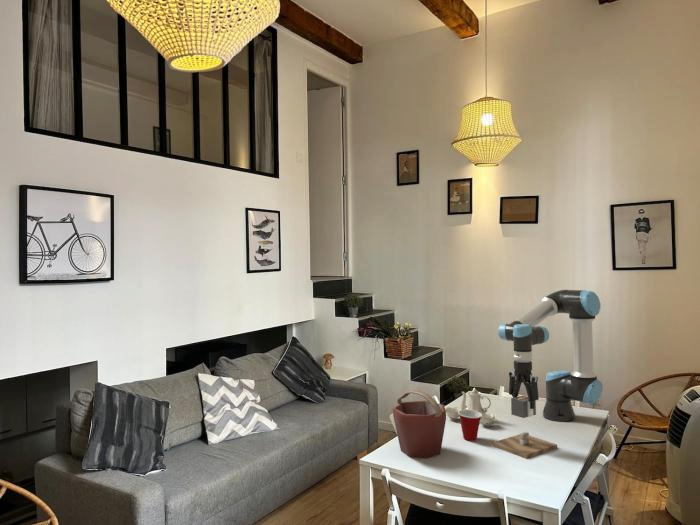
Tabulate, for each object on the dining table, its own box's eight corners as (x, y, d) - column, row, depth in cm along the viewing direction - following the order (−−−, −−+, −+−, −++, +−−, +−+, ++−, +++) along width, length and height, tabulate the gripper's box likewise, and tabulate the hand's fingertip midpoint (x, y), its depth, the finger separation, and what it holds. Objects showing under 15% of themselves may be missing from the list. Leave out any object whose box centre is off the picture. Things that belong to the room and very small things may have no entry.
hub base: (522, 436, 244) (522, 423, 244) (557, 448, 229) (556, 434, 229) (492, 445, 233) (492, 432, 233) (526, 458, 218) (525, 444, 218)
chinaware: (440, 424, 269) (438, 392, 268) (453, 412, 283) (451, 381, 281) (494, 433, 254) (492, 399, 252) (505, 420, 268) (503, 388, 266)
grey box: (523, 418, 226) (523, 400, 226) (511, 414, 231) (511, 397, 231) (535, 414, 230) (535, 397, 230) (523, 411, 236) (523, 394, 235)
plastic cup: (481, 444, 236) (480, 417, 236) (456, 441, 240) (455, 414, 239) (484, 436, 246) (483, 410, 246) (460, 433, 250) (460, 408, 250)
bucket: (386, 445, 237) (385, 389, 237) (430, 438, 245) (429, 383, 245) (412, 465, 214) (410, 403, 214) (459, 456, 222) (458, 396, 222)
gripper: (499, 358, 236) (500, 410, 237) (535, 365, 220) (536, 421, 221) (510, 356, 241) (511, 407, 241) (547, 363, 224) (548, 417, 225)
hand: (523, 413), depth 231 cm, fingers closed on grey box, 6 cm apart
